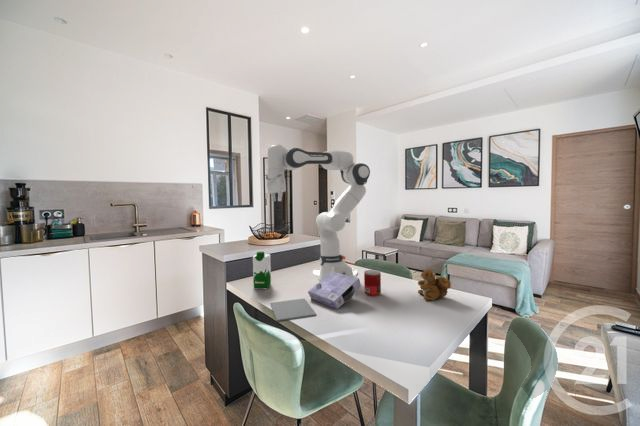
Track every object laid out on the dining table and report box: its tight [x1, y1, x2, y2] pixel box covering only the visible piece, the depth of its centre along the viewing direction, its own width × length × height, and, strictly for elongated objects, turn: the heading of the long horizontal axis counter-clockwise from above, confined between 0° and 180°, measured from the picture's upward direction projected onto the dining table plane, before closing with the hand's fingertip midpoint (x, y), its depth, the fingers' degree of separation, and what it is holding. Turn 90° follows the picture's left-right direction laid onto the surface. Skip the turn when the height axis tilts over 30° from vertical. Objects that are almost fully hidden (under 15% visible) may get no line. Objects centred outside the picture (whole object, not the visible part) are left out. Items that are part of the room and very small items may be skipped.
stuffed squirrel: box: [417, 268, 452, 301], centre depth 127 cm, size 10×14×13 cm
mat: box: [270, 298, 317, 322], centre depth 114 cm, size 16×19×1 cm
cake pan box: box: [307, 272, 362, 310], centre depth 124 cm, size 19×5×18 cm
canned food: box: [363, 269, 382, 297], centre depth 133 cm, size 8×8×11 cm
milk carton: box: [252, 251, 272, 289], centre depth 144 cm, size 9×9×20 cm
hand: (276, 201), depth 143 cm, fingers open, 8 cm apart
